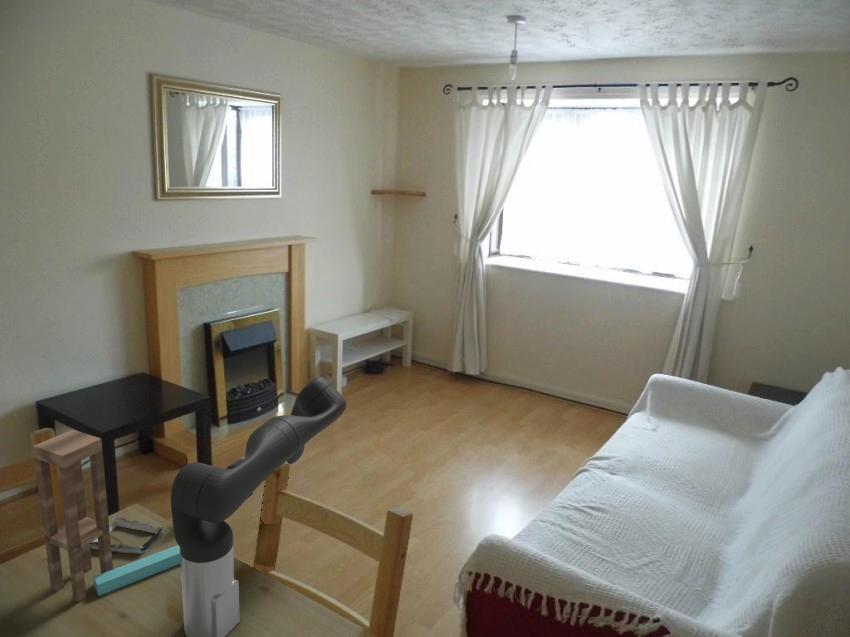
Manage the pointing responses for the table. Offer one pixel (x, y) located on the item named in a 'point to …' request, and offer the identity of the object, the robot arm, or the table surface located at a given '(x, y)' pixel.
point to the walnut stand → (73, 507)
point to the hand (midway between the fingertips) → (200, 502)
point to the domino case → (136, 570)
